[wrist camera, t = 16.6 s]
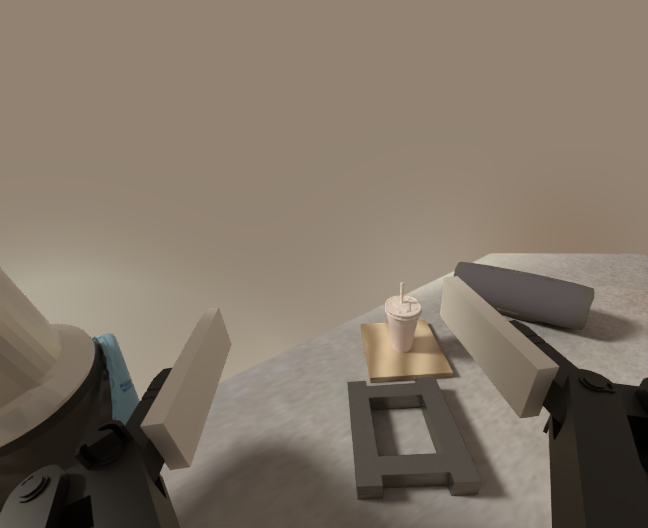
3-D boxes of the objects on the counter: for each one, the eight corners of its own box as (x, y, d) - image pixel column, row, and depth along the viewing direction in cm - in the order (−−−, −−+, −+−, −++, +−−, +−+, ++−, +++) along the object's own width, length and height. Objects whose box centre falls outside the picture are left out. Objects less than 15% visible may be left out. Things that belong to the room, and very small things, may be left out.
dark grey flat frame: (357, 499, 31) (356, 486, 30) (348, 394, 43) (347, 382, 42) (477, 494, 30) (481, 481, 29) (433, 389, 43) (434, 376, 41)
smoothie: (408, 331, 54) (412, 272, 47) (425, 353, 48) (431, 290, 42) (379, 337, 53) (378, 278, 46) (393, 361, 47) (394, 298, 41)
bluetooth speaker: (577, 318, 54) (594, 276, 49) (576, 345, 48) (596, 300, 43) (459, 288, 68) (464, 253, 63) (447, 306, 62) (452, 269, 57)
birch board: (370, 382, 45) (370, 377, 45) (360, 328, 58) (360, 324, 57) (452, 377, 44) (453, 372, 44) (424, 323, 57) (424, 319, 56)
